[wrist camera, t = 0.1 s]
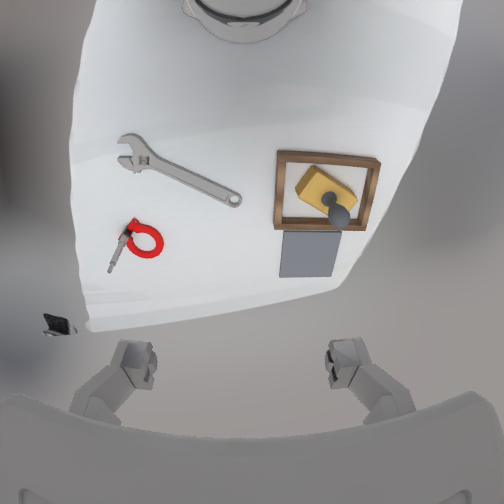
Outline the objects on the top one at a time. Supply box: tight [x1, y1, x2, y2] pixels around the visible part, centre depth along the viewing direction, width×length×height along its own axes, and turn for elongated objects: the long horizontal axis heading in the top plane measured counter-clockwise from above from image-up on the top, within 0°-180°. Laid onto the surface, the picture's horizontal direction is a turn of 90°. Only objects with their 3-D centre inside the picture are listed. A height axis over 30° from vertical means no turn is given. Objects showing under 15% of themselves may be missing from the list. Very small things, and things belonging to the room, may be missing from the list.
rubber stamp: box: [295, 166, 358, 229], centre depth 44 cm, size 10×6×12 cm, turn 60°
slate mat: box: [279, 231, 342, 278], centre depth 58 cm, size 12×12×1 cm
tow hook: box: [107, 219, 164, 273], centre depth 50 cm, size 8×13×9 cm
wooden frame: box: [273, 151, 381, 231], centre depth 48 cm, size 14×18×2 cm
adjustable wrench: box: [117, 134, 241, 208], centre depth 46 cm, size 25×6×2 cm, turn 55°
